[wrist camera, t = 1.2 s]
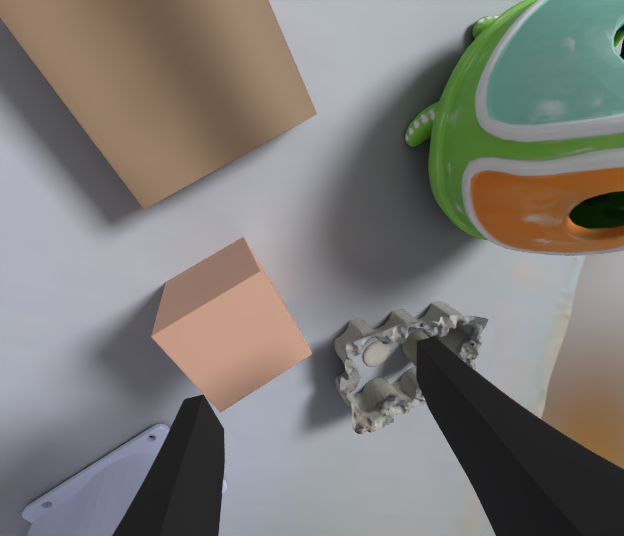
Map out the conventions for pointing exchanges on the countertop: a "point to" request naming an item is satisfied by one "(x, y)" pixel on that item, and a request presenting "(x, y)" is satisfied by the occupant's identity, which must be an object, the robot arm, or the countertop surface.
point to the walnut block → (165, 81)
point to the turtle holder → (534, 130)
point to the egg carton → (406, 392)
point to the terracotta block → (228, 326)
